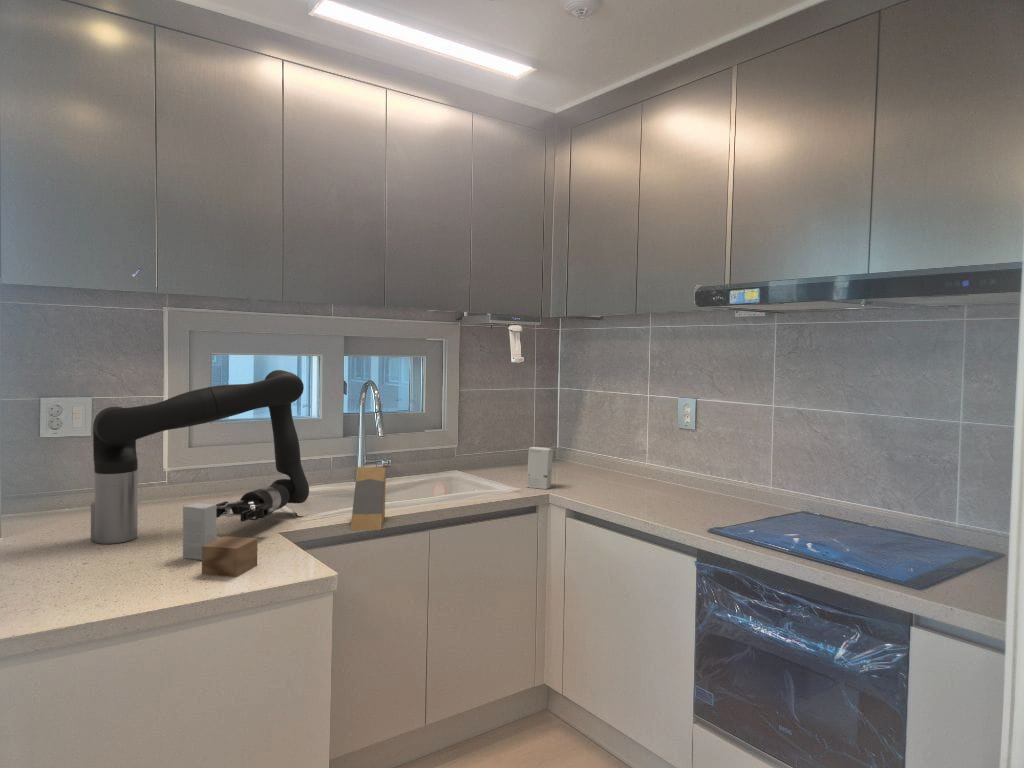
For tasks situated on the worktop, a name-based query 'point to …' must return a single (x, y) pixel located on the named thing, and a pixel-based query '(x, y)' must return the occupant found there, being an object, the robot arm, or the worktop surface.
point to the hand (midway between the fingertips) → (225, 516)
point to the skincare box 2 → (539, 467)
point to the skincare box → (198, 529)
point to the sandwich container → (369, 499)
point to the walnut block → (229, 556)
